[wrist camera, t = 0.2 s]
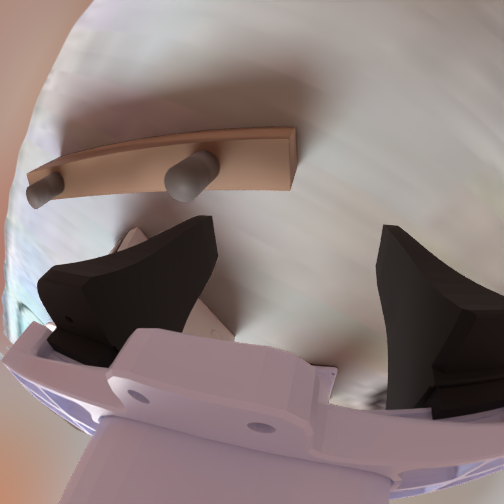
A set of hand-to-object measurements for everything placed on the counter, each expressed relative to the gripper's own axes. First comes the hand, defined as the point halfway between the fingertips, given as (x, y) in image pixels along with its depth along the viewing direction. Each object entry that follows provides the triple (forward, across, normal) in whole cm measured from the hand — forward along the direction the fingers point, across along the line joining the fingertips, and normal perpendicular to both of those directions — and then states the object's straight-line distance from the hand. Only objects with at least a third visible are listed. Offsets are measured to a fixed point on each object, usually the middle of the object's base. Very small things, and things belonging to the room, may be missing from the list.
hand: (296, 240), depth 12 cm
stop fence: (+10, +13, -2) cm, 16 cm away
